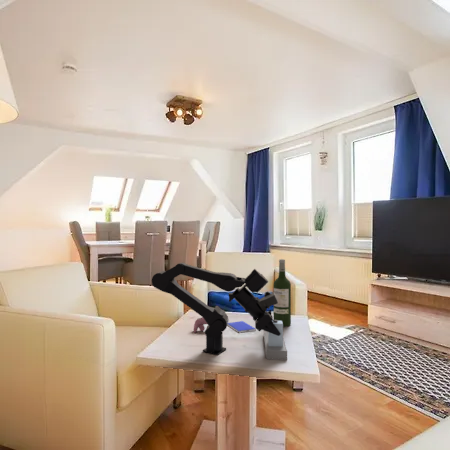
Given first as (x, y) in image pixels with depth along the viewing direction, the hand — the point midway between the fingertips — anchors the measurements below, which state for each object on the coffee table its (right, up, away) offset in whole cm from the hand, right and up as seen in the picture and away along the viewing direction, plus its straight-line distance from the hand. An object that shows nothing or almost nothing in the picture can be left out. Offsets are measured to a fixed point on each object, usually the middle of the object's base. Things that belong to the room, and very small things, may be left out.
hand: (279, 333), depth 120 cm
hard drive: (-12, -8, +30) cm, 34 cm away
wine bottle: (+7, -8, +35) cm, 37 cm away
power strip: (-1, -7, +10) cm, 12 cm away
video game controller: (-28, -8, +25) cm, 38 cm away
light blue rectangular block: (-1, -6, 0) cm, 6 cm away
